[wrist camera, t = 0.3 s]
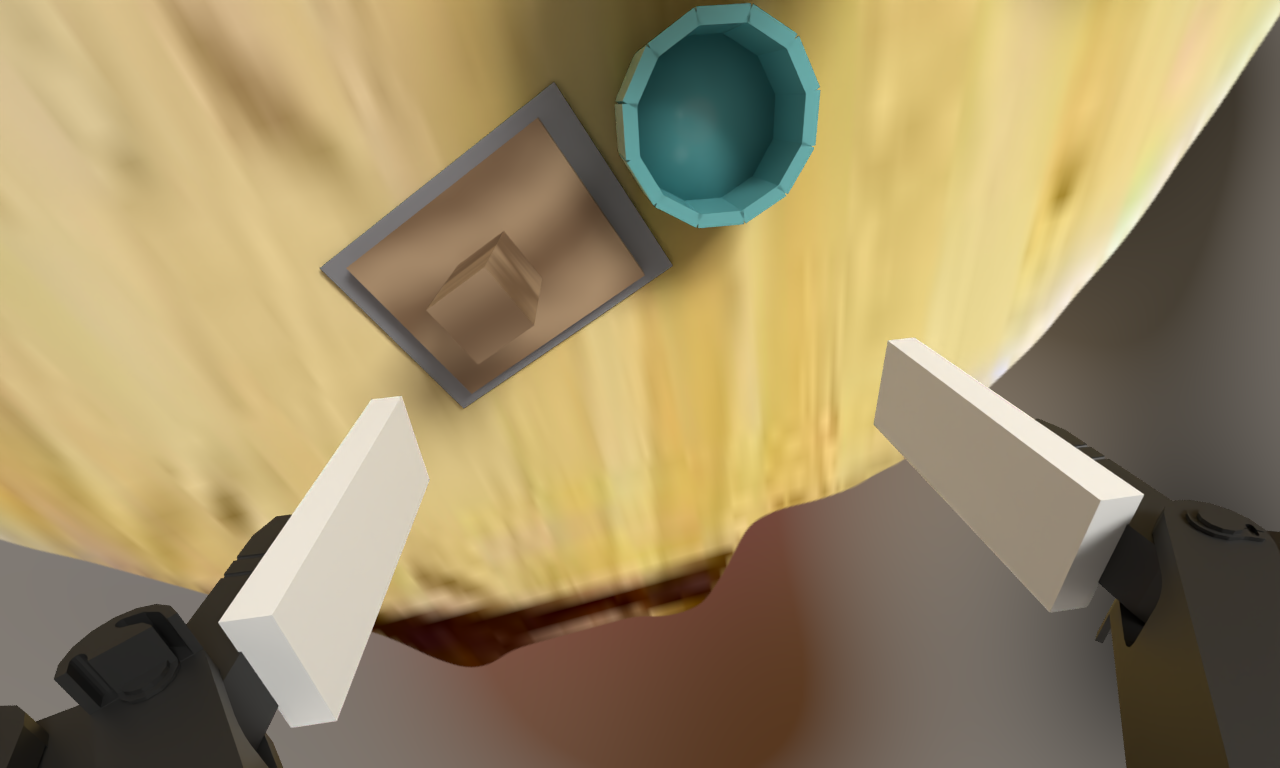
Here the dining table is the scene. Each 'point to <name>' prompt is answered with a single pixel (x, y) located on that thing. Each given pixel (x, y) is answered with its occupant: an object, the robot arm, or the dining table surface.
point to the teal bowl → (718, 115)
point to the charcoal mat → (543, 106)
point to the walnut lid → (500, 260)
